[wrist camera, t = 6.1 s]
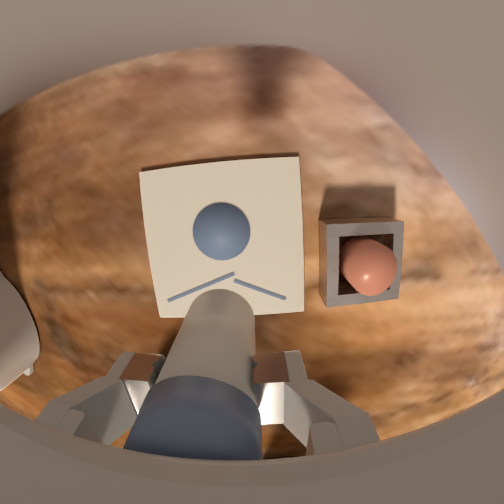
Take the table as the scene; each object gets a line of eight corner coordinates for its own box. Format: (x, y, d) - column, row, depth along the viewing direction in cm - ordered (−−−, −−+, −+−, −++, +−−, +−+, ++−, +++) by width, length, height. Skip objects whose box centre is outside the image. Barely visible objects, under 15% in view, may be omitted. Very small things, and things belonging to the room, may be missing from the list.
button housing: (318, 293, 26) (326, 307, 23) (318, 219, 24) (326, 224, 21) (385, 286, 25) (398, 298, 22) (388, 216, 24) (403, 221, 21)
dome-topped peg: (191, 349, 13) (147, 493, 5) (181, 288, 12) (100, 425, 4) (258, 347, 13) (264, 502, 5) (254, 284, 12) (261, 440, 4)
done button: (337, 283, 24) (348, 298, 21) (337, 237, 23) (350, 246, 20) (379, 279, 24) (394, 292, 20) (381, 234, 23) (398, 242, 20)
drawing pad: (161, 315, 26) (159, 318, 26) (140, 172, 23) (138, 172, 22) (303, 309, 26) (304, 311, 25) (298, 157, 23) (299, 156, 22)
